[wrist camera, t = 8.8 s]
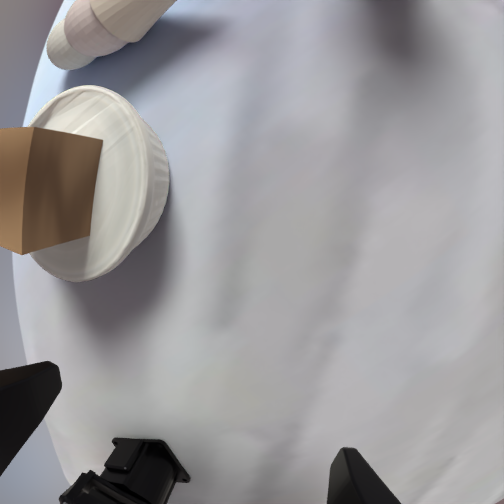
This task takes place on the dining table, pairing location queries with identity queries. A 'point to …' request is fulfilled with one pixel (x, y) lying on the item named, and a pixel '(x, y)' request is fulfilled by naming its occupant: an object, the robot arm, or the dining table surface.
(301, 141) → the dining table surface
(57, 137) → the walnut cube
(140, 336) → the dining table surface
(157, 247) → the dining table surface
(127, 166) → the ramekin
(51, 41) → the ice cream cone
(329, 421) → the dining table surface
